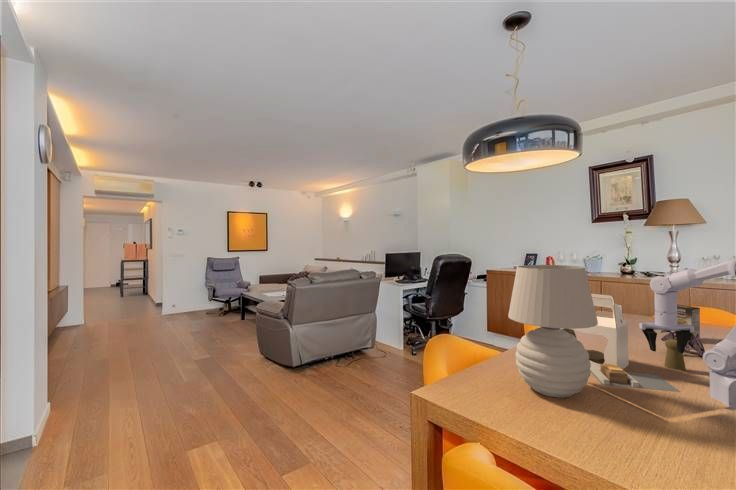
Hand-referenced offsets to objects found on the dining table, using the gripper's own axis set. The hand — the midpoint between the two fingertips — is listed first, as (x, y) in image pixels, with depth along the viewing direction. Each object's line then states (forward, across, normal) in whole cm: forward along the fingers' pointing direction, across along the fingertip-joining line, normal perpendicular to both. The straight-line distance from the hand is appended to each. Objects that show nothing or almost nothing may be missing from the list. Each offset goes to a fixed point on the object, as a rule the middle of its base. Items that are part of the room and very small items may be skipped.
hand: (666, 351), depth 113 cm
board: (+10, +12, +5) cm, 17 cm away
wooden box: (+9, +18, +5) cm, 20 cm away
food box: (+10, -34, -58) cm, 68 cm away
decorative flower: (+10, -21, -33) cm, 40 cm away
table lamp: (+10, +39, +18) cm, 44 cm away
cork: (+10, -8, -12) cm, 18 cm away
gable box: (+10, +20, -12) cm, 25 cm away
